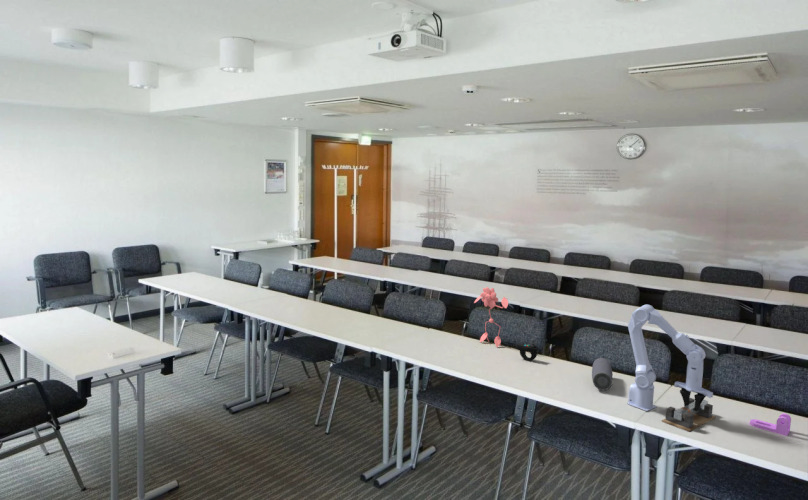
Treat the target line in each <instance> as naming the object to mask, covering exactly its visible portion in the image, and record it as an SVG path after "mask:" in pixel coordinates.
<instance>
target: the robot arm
mask: <svg viewBox="0 0 808 500" xmlns="http://www.w3.org/2000/svg"><path fill="white" fill-rule="evenodd" d="M646 323H647V324H649V325H656V326H657V327H659V328H660V329H661V330H662V331H663V332H664V333H665V334H666V335H668V336H669V337H670V338H671V341H672V343H673V345H674V346H675V347H676V348H677V349H678V350H679V351H681V352H682V353H683V354H684V355H686V359H687V366H686V379H685V382H681V381H675V382H674V387H675V388H680V390H679V394H680V395H681V397H682V401H683V405H684V406H686V405H688V404H689V399H690V398H691V393H692V392H693V393H695V394H694V395H693V396H694V399H695V401H694V402H695V408H694V410H695V411H698V410H699V407H700V405H701V403H702V401H703V400H705V398H706V397H707V398H709V399H711V398H713V395H714V392H713V391H710V390H708V389H706V388H703V387H702V385H703V374H704V359H705V358H706V351H705V349H704V348H703V347H701V346H700V345H698V344H696V343H694V342H693V341H692V340H691V339H690V338H689V337H690V336H689V335H688V334H685V333H684V332H682V333H681V332H678V331H677V330H676V329H675V327H674V326H672V325H671V323H669V321H668V320H667V319H665V317H664V316H663V315H661V313H660V312H659V310H657V309H655V308H654V307H653V305H650V304H644V305H641V306H640V307H638V308H636V309H635V310H634V311H633V312H632V313H631V315H630V319H629V321H628V324H627V329H628V332H629V336H630V341H631V347H632V351H633V355H634V360H635V361H634V362H635V365H636V367H635V373H634V374H635V379H634V382H633V383H631V385H629V390H628V401H627V405H628V406H629V405H630V407H631V406H632V407H635V408H638V409H640V410H642V411H645V412H649V411H651V410H653V409H655V408H657V405H655V404H654V396H655V385H654V383H655V382H656V380H657V375H656V373H655V371H654V369H653V367H652V365H651V364H650V360H649V357H648V352H647V347H646V343H645V342H646V341H645V338H644V334H643V329H642V328H643V327H644V325H645V324H646ZM684 406H683V407H684Z"/></svg>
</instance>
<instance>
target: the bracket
mask: <svg viewBox="0 0 808 500" xmlns="http://www.w3.org/2000/svg"><path fill="white" fill-rule="evenodd" d="M791 423H792V417H791V415H790V414H788V413H785V412H783V413H780V415H779V416H778V418H777V419H776V423H775V424H774V423H772V422H768V421H764V420H760V419H756V418H755V419H750V420H749V425H750V426H751V427H754V428H757V429H760V430H764V431H768V432H771V433H775V434H779V435H781V436H785V437H788V435H789V434H790V431H791Z"/></svg>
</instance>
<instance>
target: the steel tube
mask: <svg viewBox="0 0 808 500" xmlns="http://www.w3.org/2000/svg"><path fill="white" fill-rule="evenodd" d="M706 404H709V400H706V399H703V401H702V403H701V405H700V407H699V410H698V411H695V410H694V408H695V401H694V402H693V403H691V404H688V405H686V406H682V407H680V408H678V409H675V411H674V418H675V419H677V420H680V421H682V420H684V419H685V414H687V413H691V414H693V415H694V414H696V413H698V412H700V411H702V410H704V405H706Z"/></svg>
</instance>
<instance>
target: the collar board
mask: <svg viewBox="0 0 808 500" xmlns="http://www.w3.org/2000/svg"><path fill="white" fill-rule="evenodd" d="M693 402H695V398H692V397H690V399H689V404H691V403H693ZM713 410H714V408H713V405H712V404H710V403H708V404H706V405H704V410H702V411H700V412H698V413H696V414H694V415H693V414H691V413H687V414H685V419H684V420H682V421H680V420H677V419H675V418H674V411H676V407H673V406H668V407H667V408H666V411H665V412H666V414H665V418H664V419H662V420H661V422H662V423H665V424H667V425H670V426H673V427H675V428H679V429H681V430H683V431H686V432H689V433H690V432H691V430H692V431H693V430H695V429H697V428H699V427H701V426H703V425H705V424H706V422H707V423H708V421H709V422H711V421H712V420H715V419H716V416H715V415H713ZM710 420H711V421H710ZM704 423H705V424H704ZM702 424H703V425H702ZM700 425H701V426H700Z"/></svg>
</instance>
